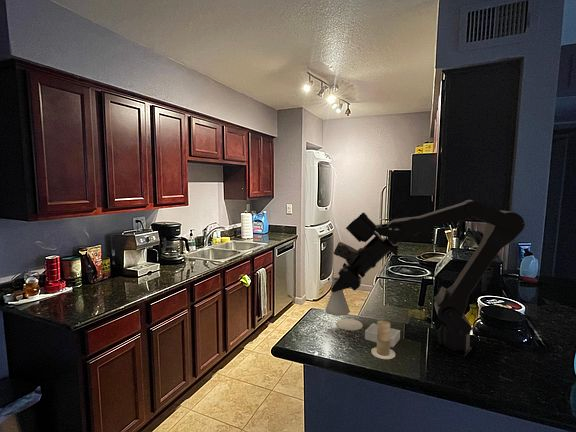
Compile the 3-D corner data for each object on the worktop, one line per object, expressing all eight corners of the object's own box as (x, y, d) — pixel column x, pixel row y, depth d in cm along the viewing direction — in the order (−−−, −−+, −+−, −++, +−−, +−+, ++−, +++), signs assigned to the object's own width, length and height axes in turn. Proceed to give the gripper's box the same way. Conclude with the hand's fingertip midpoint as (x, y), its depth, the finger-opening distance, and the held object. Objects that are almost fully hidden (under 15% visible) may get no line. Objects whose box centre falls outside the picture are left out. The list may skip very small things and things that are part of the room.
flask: (349, 317, 87) (349, 283, 86) (323, 315, 88) (323, 281, 88) (350, 308, 94) (350, 275, 93) (326, 306, 95) (326, 274, 94)
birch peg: (391, 352, 80) (392, 323, 79) (385, 357, 78) (386, 326, 77) (380, 348, 82) (381, 319, 82) (374, 352, 80) (374, 322, 80)
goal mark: (367, 324, 97) (367, 324, 97) (352, 333, 91) (352, 332, 91) (346, 317, 103) (346, 316, 103) (331, 324, 97) (331, 324, 97)
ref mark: (399, 353, 80) (399, 352, 80) (387, 362, 76) (387, 361, 76) (378, 344, 84) (378, 344, 84) (366, 352, 80) (366, 352, 80)
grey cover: (400, 339, 87) (400, 330, 87) (393, 347, 83) (393, 338, 82) (372, 331, 92) (373, 322, 92) (364, 339, 88) (364, 330, 87)
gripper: (354, 229, 97) (320, 262, 101) (346, 238, 79) (305, 277, 83) (380, 255, 95) (344, 287, 99) (378, 270, 77) (334, 308, 82)
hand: (332, 289), depth 91 cm, fingers closed on flask, 3 cm apart
